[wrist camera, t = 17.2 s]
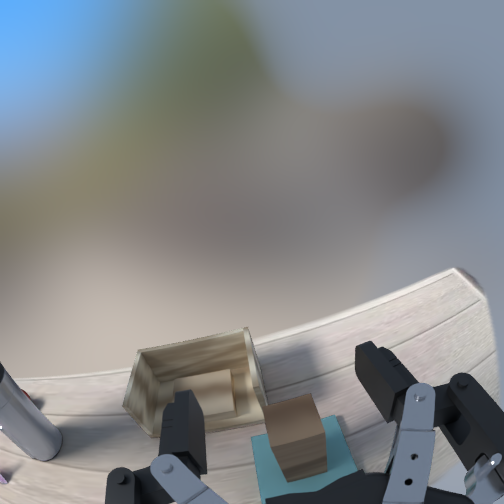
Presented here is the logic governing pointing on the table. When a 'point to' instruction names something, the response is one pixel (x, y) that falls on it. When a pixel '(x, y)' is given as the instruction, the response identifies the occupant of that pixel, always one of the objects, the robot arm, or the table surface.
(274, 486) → the mat
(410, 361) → the table surface
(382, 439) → the table surface
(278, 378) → the table surface
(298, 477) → the walnut block
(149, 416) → the crate
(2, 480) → the lily
